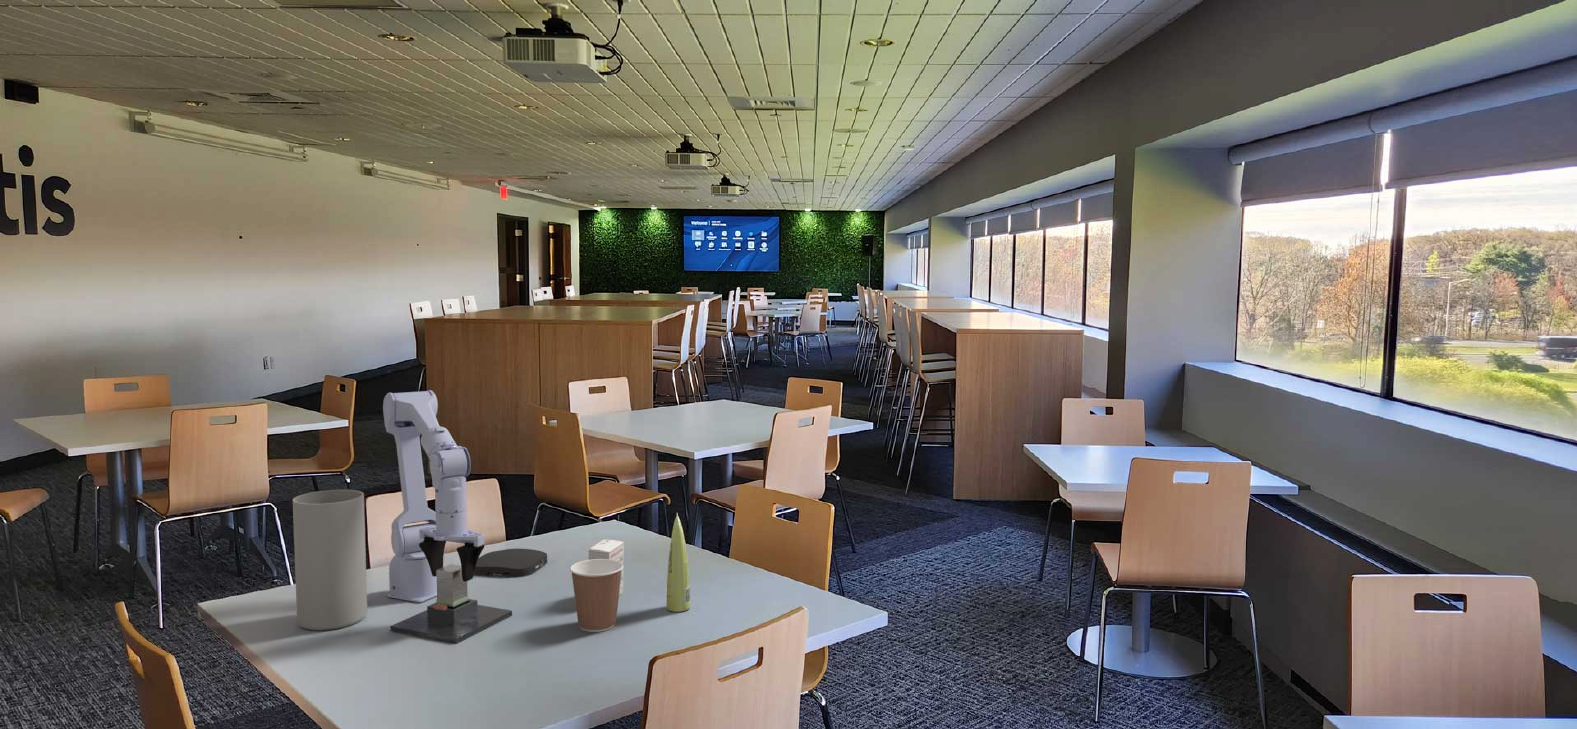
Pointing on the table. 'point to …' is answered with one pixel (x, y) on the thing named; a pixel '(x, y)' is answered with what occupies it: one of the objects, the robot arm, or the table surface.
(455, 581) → the column
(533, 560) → the media streaming box
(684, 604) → the tube
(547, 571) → the table surface
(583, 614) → the coffee cup
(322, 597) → the cylinder vase
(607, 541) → the ink box
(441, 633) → the stand
